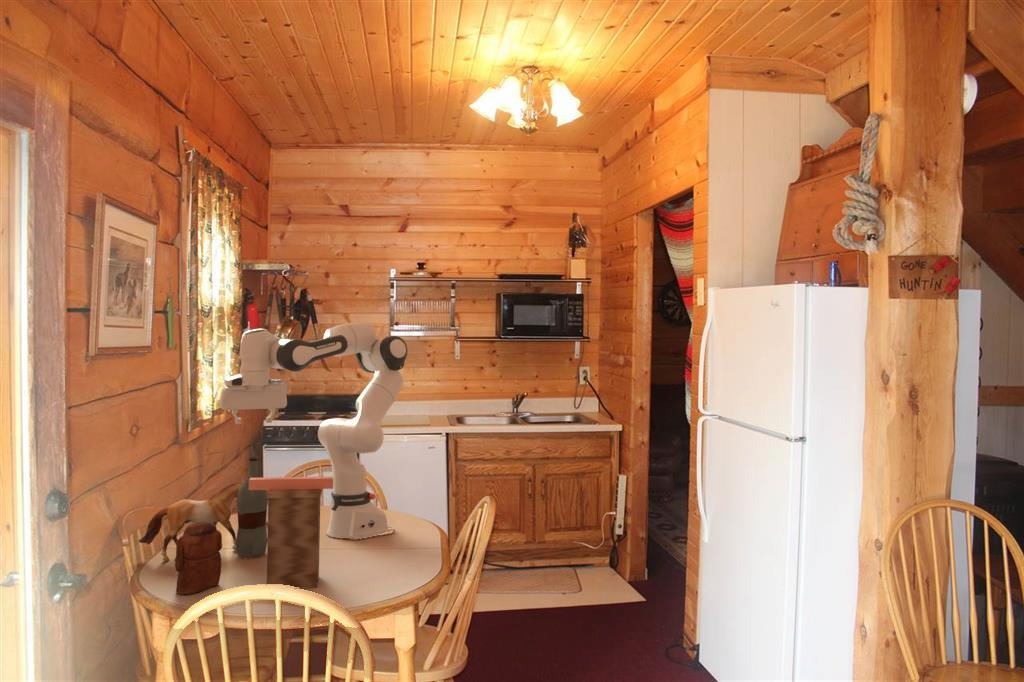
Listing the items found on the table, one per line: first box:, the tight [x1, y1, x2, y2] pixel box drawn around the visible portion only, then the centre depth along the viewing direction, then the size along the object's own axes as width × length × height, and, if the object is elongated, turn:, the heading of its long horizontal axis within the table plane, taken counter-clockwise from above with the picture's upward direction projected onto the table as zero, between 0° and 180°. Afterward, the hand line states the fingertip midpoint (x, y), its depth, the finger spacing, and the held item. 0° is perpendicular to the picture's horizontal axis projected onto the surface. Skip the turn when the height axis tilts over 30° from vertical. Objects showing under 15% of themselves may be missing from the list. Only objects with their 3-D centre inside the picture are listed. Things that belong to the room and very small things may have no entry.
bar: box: [249, 476, 333, 490], centre depth 204 cm, size 22×3×3 cm, turn 101°
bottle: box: [236, 455, 268, 560], centre depth 228 cm, size 9×9×30 cm
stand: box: [266, 489, 324, 589], centre depth 204 cm, size 14×10×26 cm
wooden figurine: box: [174, 520, 223, 595], centre depth 198 cm, size 12×6×18 cm, turn 152°
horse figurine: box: [138, 482, 244, 562], centre depth 227 cm, size 31×8×21 cm, turn 123°
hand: (253, 423), depth 238 cm, fingers open, 8 cm apart
